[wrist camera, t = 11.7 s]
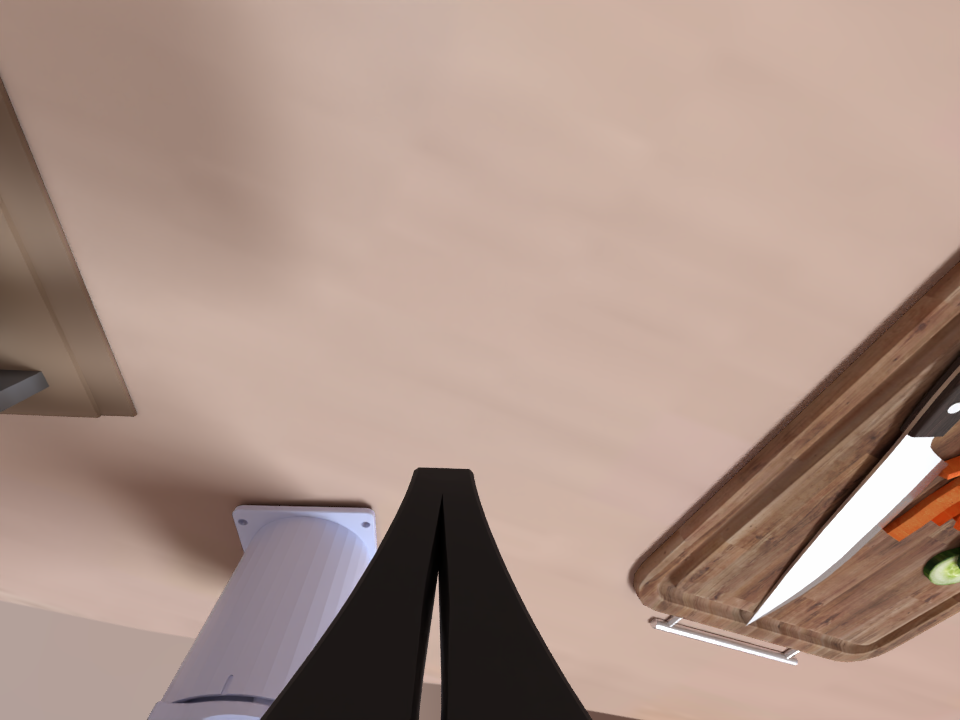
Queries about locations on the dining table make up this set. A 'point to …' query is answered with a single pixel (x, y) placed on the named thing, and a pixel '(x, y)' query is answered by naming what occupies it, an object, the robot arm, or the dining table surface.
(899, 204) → the dining table surface
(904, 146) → the dining table surface
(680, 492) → the dining table surface
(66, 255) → the dock bay
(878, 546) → the chopping board
